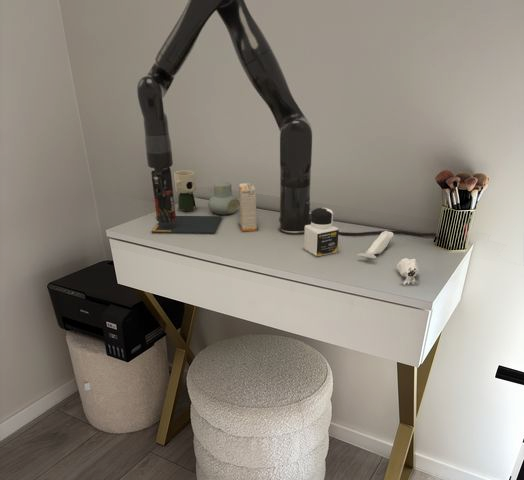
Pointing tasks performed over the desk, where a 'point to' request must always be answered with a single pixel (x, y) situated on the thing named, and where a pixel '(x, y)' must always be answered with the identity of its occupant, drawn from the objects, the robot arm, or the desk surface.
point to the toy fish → (378, 245)
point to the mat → (189, 225)
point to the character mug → (185, 189)
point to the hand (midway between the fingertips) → (164, 205)
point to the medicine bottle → (321, 233)
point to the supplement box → (247, 206)
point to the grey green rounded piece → (223, 199)
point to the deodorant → (166, 200)
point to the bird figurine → (408, 269)
